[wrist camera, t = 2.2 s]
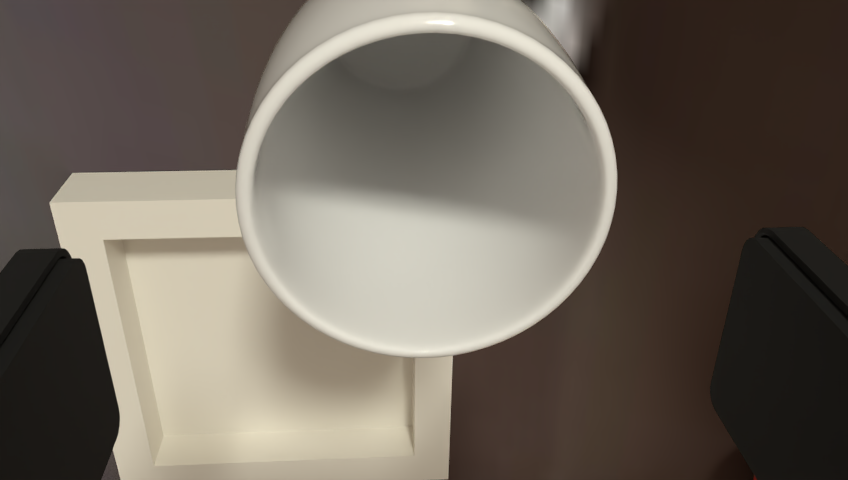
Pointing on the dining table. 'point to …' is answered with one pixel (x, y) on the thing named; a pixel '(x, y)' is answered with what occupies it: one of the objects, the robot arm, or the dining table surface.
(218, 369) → the tray
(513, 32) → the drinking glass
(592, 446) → the dining table surface
